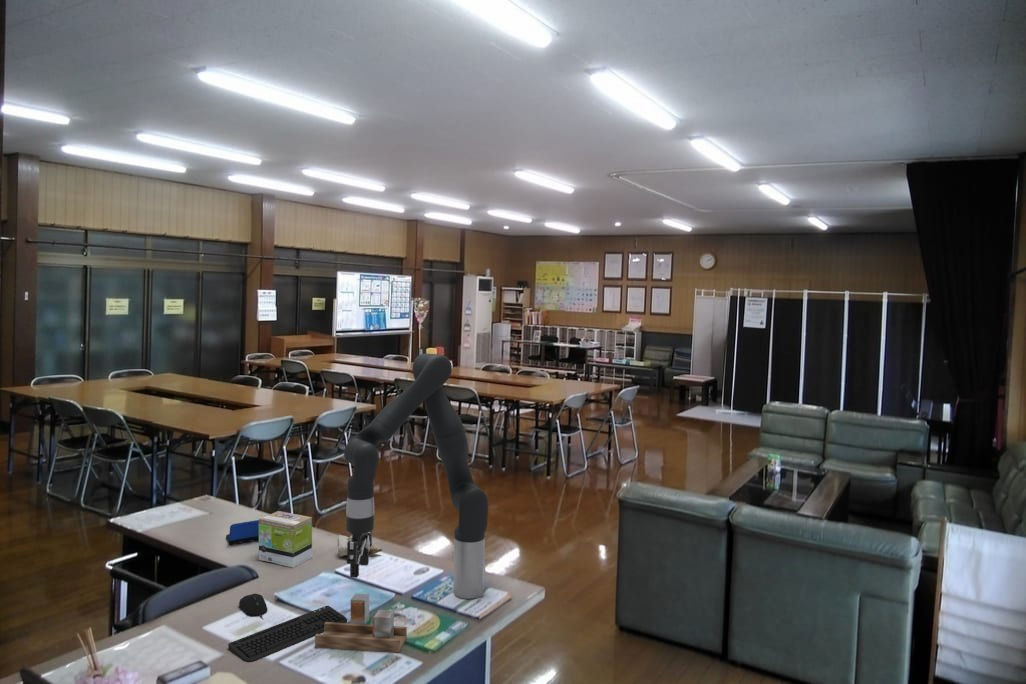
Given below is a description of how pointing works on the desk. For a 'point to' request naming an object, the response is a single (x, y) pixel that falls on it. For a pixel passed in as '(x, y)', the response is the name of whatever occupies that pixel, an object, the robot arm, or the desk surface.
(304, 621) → the keyboard
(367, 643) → the rail
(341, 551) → the ceramic sculpture
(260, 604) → the gaming mouse
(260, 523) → the tea box
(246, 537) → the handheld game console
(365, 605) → the gray metallic block
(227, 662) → the desk surface
